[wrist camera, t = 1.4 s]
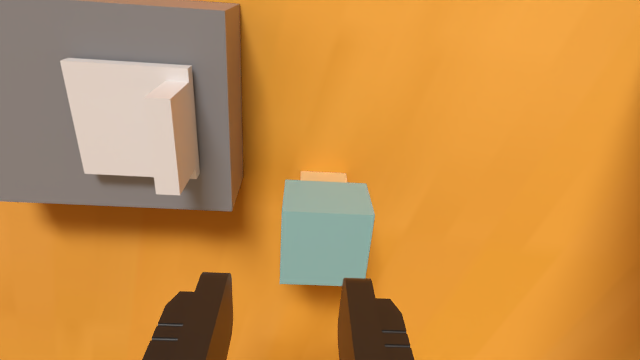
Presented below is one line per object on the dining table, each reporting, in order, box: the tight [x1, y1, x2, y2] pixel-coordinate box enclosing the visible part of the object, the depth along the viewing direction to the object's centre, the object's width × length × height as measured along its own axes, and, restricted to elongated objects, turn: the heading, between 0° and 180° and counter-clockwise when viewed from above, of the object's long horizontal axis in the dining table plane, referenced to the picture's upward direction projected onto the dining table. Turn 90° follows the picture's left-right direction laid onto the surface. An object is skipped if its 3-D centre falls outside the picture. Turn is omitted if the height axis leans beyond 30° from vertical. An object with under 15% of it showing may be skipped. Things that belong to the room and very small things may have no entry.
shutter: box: [60, 58, 200, 195], centre depth 21 cm, size 6×6×4 cm
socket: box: [0, 0, 243, 211], centre depth 25 cm, size 16×12×5 cm
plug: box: [280, 171, 375, 286], centre depth 28 cm, size 5×5×8 cm
